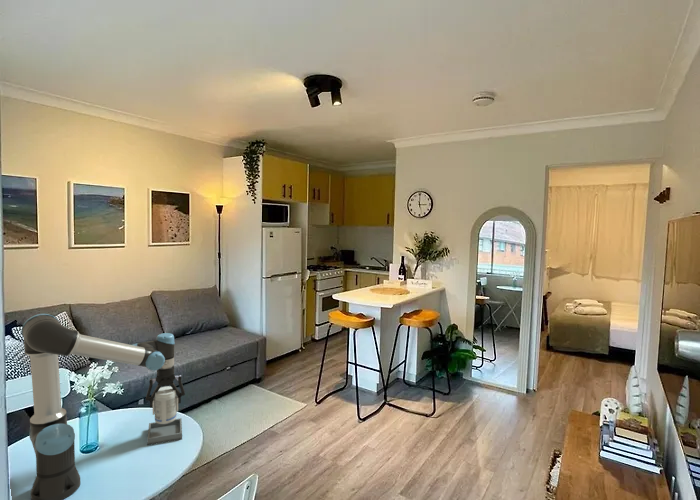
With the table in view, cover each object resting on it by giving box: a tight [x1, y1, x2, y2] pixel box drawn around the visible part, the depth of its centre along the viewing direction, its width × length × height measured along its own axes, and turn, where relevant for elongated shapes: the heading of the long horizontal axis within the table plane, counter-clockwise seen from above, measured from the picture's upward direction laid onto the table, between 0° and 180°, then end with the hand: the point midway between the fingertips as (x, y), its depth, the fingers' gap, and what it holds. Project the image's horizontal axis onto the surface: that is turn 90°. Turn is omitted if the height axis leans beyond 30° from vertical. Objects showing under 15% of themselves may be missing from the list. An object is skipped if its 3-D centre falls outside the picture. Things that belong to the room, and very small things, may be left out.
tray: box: [146, 417, 183, 446], centre depth 191 cm, size 15×15×3 cm
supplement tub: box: [154, 385, 178, 424], centre depth 190 cm, size 10×10×15 cm
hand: (165, 411), depth 190 cm, fingers closed on supplement tub, 10 cm apart
